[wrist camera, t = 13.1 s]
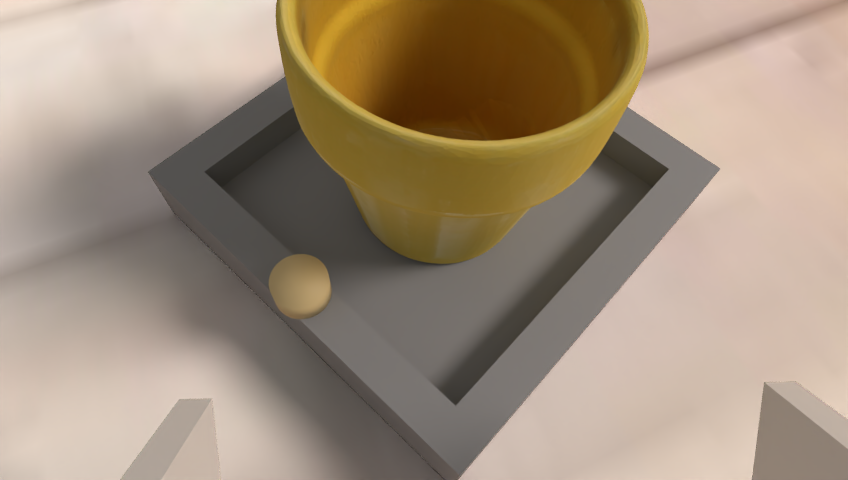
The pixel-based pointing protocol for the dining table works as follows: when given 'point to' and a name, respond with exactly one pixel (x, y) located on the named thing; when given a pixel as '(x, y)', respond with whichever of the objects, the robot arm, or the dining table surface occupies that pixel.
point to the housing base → (426, 269)
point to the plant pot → (458, 106)
